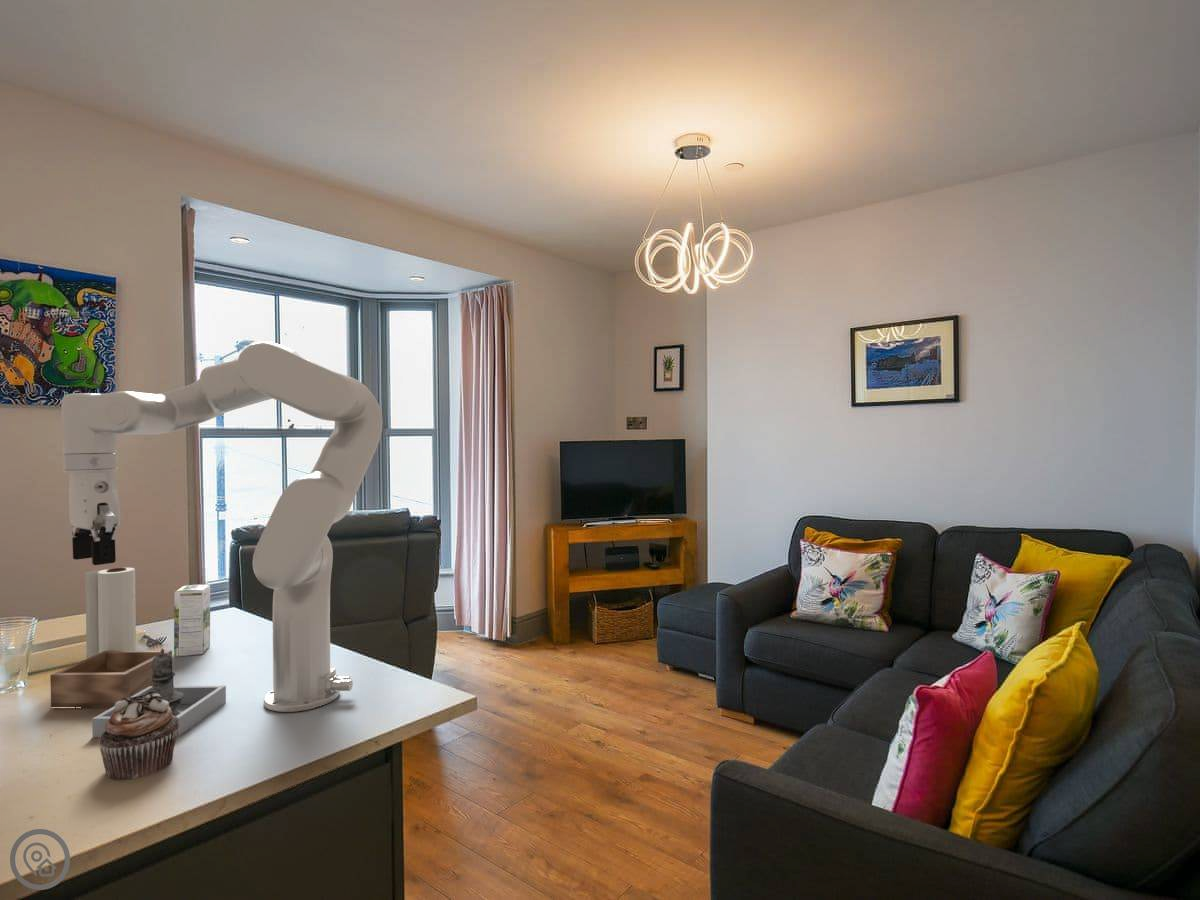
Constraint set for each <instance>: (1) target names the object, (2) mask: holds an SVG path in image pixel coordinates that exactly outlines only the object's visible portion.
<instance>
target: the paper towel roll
mask: <svg viewBox="0 0 1200 900" xmlns="http://www.w3.org/2000/svg"><path fill="white" fill-rule="evenodd" d="M136 609H137V608H136V569H135V568H134V567H115V568H107V569H101V570H94V571H89V572H85V630H86V632H85V633H86V635H85V637H86V639H85V640H86V642H85V643H86V659H88V658H90V657H92V656H95V655H97V654H99V653H101V652H104V651H137V633H136V632H137V629H136V627H137V622H136V621H137V619H136V615H137V613H136Z"/></svg>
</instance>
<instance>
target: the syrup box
mask: <svg viewBox="0 0 1200 900" xmlns="http://www.w3.org/2000/svg"><path fill="white" fill-rule="evenodd" d="M173 599H174V602H173V603H174V605H173V606H174V607H173V611H174V615H173V657H187V656H195V655H204V654H205V652H206V651H207V650H208V649H209V648H210V647H211V585H210V584H191V585H189V584H188V585H183V586H181V587H180V588H179V589H177V590H175V591H174V597H173Z"/></svg>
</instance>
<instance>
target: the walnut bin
mask: <svg viewBox="0 0 1200 900" xmlns="http://www.w3.org/2000/svg"><path fill="white" fill-rule="evenodd" d="M164 650H165V649H164ZM160 651H161V650H136V651H104V652H101V653H99V654H97V655H95V656H92V657H90V658H88V659H87V658H86V659H84V660H81V661H79V662H77V663H74V664H72V665H70V666H68V667H65V668H63V669H61V670H58V671H55V672H54V673H51V674H50V680H49V681H50V708H51V707H75V708H76V707H81V708H82V709H110V708H112V707H114V706H115V703H116V702H118V701H121V700H122V698H126V697H131V696H133V695H135V694H137V693H138V692H140V691H142V690H144V689H146V688H147V687H149V686H152V680H151V679H150V677H151V676H152V675H153V659H154V657H155V656H157V655H159V654H160V653H161V652H160ZM164 653H166V654H170V655H171V656H172V657H173V650H165V651H164Z"/></svg>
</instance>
